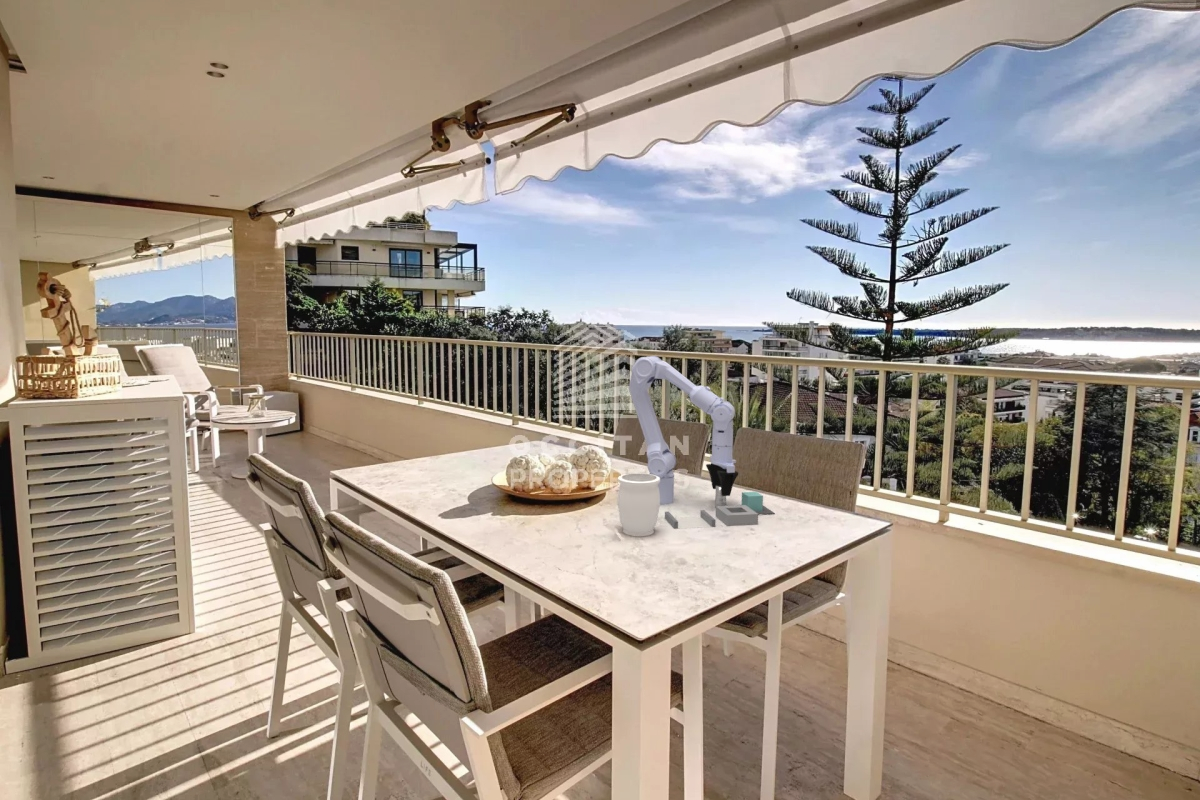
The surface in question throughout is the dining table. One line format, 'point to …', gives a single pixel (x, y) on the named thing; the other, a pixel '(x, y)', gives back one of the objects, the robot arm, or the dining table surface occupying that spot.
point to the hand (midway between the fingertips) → (721, 492)
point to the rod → (719, 497)
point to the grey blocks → (724, 513)
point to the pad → (765, 511)
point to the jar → (638, 503)
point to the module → (753, 500)
